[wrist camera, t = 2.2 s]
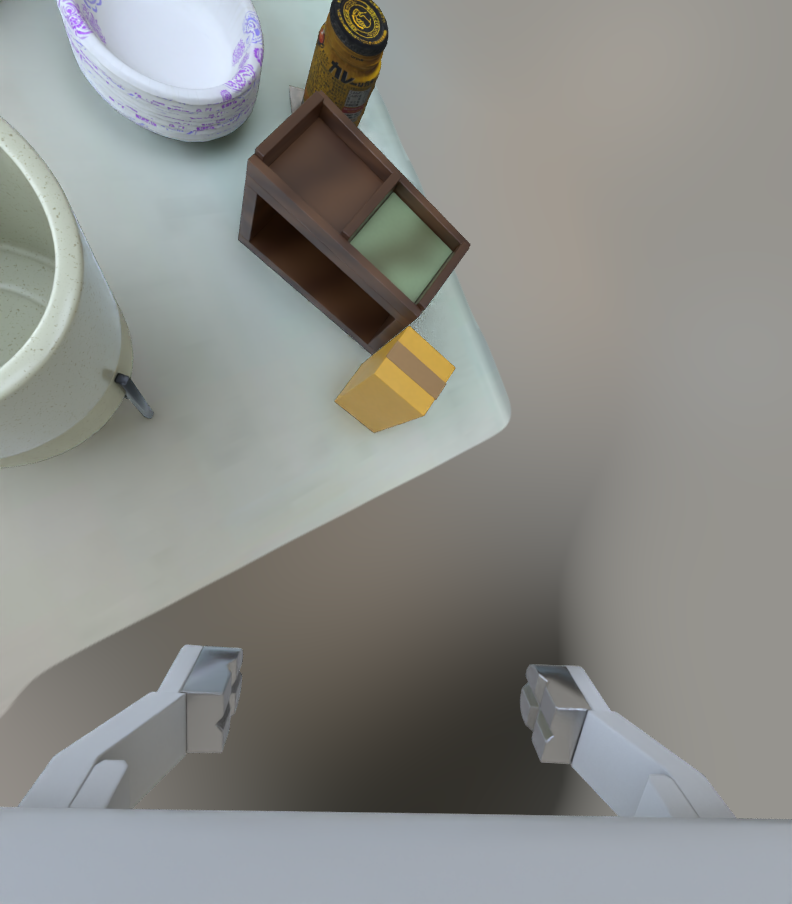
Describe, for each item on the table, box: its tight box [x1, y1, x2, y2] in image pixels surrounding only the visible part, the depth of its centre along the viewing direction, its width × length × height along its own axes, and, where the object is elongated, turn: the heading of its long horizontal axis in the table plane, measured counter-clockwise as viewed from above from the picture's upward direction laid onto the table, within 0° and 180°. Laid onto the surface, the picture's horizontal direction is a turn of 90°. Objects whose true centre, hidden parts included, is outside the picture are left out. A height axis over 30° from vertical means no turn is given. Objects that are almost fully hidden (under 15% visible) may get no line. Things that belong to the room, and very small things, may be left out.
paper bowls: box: [56, 0, 264, 142], centre depth 38 cm, size 15×15×8 cm
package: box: [335, 326, 455, 433], centre depth 42 cm, size 6×6×12 cm
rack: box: [238, 90, 470, 355], centre depth 42 cm, size 17×10×12 cm, turn 55°
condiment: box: [289, 0, 388, 127], centre depth 43 cm, size 7×8×12 cm
